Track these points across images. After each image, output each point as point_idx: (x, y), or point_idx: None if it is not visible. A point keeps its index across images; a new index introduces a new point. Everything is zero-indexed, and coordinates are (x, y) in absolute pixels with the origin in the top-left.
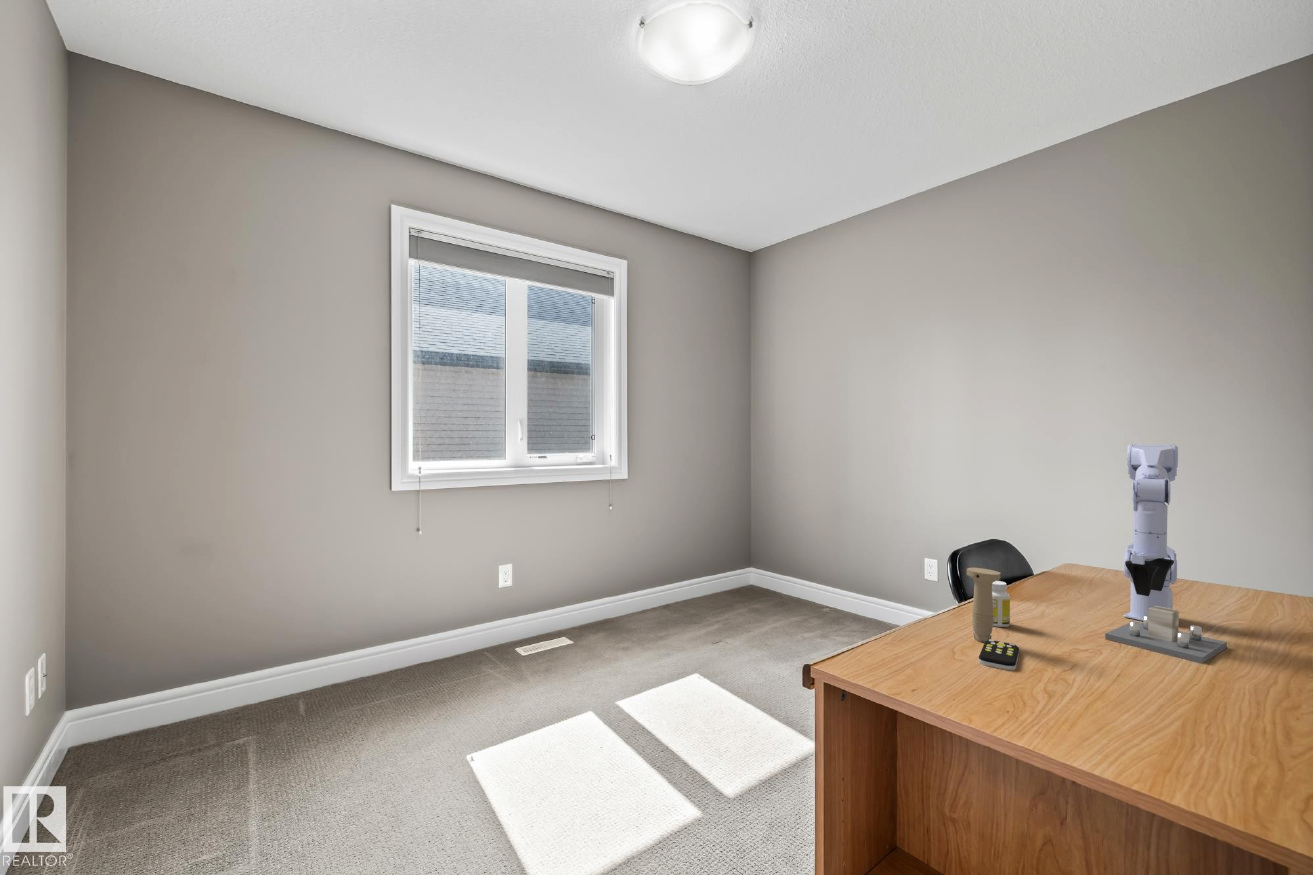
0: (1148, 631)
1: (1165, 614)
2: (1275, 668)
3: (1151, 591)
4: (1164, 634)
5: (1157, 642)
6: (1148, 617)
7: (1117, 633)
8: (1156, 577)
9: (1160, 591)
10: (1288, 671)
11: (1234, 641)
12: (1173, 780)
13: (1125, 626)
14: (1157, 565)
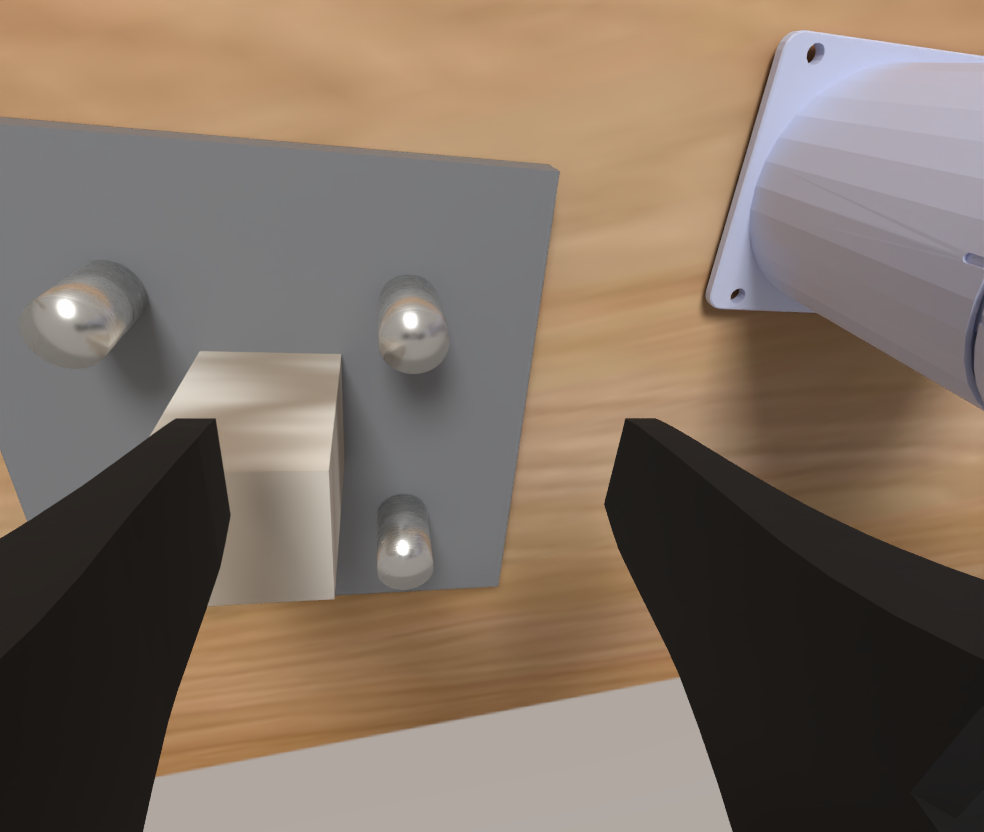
0: (193, 368)
1: None
2: (332, 700)
3: (913, 308)
4: None
5: (100, 424)
6: (159, 424)
7: (9, 189)
8: (690, 584)
9: (929, 370)
10: (334, 721)
11: None
12: None
13: (320, 173)
14: (790, 777)
